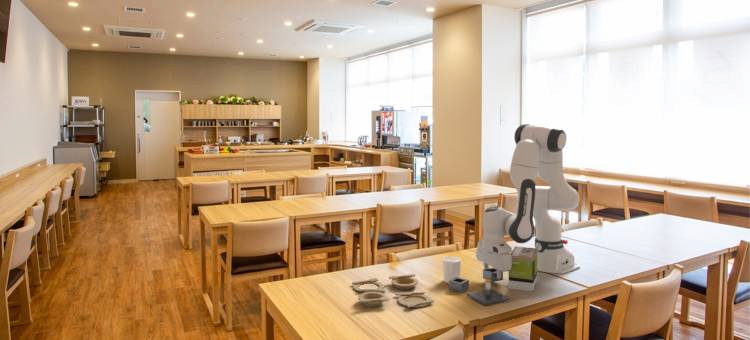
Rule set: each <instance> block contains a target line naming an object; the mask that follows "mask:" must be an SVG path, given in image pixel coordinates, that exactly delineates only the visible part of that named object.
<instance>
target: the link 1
mask: <svg viewBox="0 0 750 340" xmlns="http://www.w3.org/2000/svg"><path fill="white" fill-rule="evenodd" d="M468 290H470V280H469V279H466V278H463V277H462V278H461V277H460V278H458V277H456V278H454V279H452V280H450V281H449V283H448V291H451V292H454V293H458V294H463V293H465V292H467V291H468Z"/></svg>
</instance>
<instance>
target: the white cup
mask: <svg viewBox="0 0 750 340" xmlns="http://www.w3.org/2000/svg"><path fill="white" fill-rule="evenodd" d="M461 267H462V259H461V258H460V257H457V256H445V257H443V258H442V268H443V281H444V283H447V284H449V281H450V280H452V279H454V278H456V277H458V278H461V269H462V268H461Z"/></svg>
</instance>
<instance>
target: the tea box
mask: <svg viewBox="0 0 750 340" xmlns="http://www.w3.org/2000/svg"><path fill="white" fill-rule="evenodd" d="M509 253H510V254H511V257H512V267H511V270H510V271H508V289H509V290H511V289H512V290H518V291H524V292H533V291H534V288H535V286H536V284H537V282H538V270H537V248H535V247H524V246H514V247H513V248H512V252H509Z"/></svg>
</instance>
